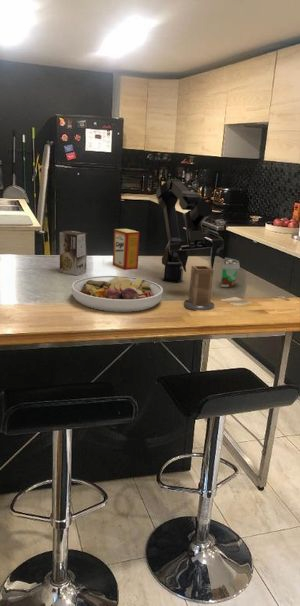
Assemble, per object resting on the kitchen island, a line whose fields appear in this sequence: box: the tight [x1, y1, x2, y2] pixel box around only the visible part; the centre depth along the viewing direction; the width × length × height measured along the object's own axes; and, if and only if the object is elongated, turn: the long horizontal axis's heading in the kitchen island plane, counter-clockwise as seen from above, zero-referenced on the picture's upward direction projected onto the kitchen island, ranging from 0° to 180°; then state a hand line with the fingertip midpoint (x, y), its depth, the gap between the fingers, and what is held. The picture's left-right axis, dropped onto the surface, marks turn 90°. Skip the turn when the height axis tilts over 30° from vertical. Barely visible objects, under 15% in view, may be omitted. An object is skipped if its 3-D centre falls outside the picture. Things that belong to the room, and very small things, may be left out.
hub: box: [183, 299, 215, 312], centre depth 162 cm, size 10×10×5 cm
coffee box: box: [59, 230, 88, 276], centre depth 195 cm, size 9×6×16 cm
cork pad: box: [220, 296, 253, 307], centre depth 170 cm, size 8×8×1 cm
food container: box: [220, 257, 241, 289], centre depth 190 cm, size 12×6×10 cm, turn 168°
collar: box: [188, 265, 214, 306], centre depth 161 cm, size 6×6×12 cm
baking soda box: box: [112, 228, 141, 271], centre depth 210 cm, size 10×6×16 cm
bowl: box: [71, 275, 164, 313], centre depth 163 cm, size 30×30×8 cm
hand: (198, 270), depth 170 cm, fingers open, 9 cm apart
